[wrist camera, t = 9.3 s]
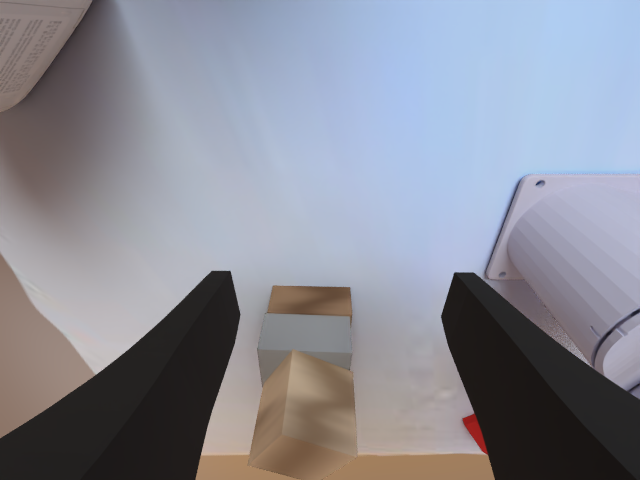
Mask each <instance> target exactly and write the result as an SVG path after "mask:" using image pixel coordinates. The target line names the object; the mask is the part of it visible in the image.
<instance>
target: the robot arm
mask: <svg viewBox="0 0 640 480" xmlns="http://www.w3.org/2000/svg"><path fill="white" fill-rule="evenodd" d="M540 180H541V183H540V184H538V185H536V183H537V182H538V181H540ZM501 272H503V273H501ZM500 273H501V274H500ZM486 274H487V276H488V278H489V279H493V280H526V282H527V283H528V284H529V285H530V287H531V288H532V289H533V291H534V292H535V293H536V295H537V296H538V297H539V298H540V300H541V301H542V302H543V304H544V305H545V306H546V308H547V309H548V310H549V311H550V313H551V314H552V315H553V317H554V318H555V319H556V321H557V322H558V323H559V325H560V326H561V327H562V328H563V330H564V331H565V332H566V334H567V335H568V336H569V338H570V339H571V340H572V341H573V343H574V344H575V345H576V347H577V348H578V349H579V351H580V352H581V353H582V354H583V356H584V357H585V358H586V360H587V361H588V362H589V364H590V365H591V366H592V367H590V366H589V365H587V364H586V363H585V362H583V361H582V360H580V359H579V358H578V357H576V356H575V355H574V354H572V353H571V352H570V351H568V350H567V349H566V348H564V347H563V346H562V345H560V344H559V343H558V342H556V341H555V340H554V339H553V338H551V337H550V336H549V335H547V334H546V333H545V332H544V331H542V330H541V329H540V328H539V327H537V326H536V325H535V324H534V323H533V322H531V321H530V320H529V319H528V318H526V317H525V316H524V315H523V314H522V313H521V312H519V311H518V310H517V309H516V308H515V307H513V306H512V305H511V304H510V303H509V302H508V301H507V300H505V299H504V298H503V297H502V296H501V295H500V294H498V293H497V292H496V291H495V290H494V289H493V288H492V287H490V286H489V285H488V284H487V283H486V282H485V281H483V280H482V279H481V278H480V277H479V276H477V275H476V274H475V273H457V272H454V276H453V279H452V282H451V286H450V289H449V292H448V295H447V299H446V302H445V305H444V309H443V312H442V315H441V318H442V323H443V327H444V331H445V335H446V339H447V343H448V346H449V349H450V352H451V354H452V357H453V359H454V362H455V365H456V367H457V370H458V372H459V375H460V377H461V380H462V382H463V385H464V387H465V390H466V392H467V395H468V398H469V400H470V403H471V405H472V408H473V410H474V413H475V415H476V418H477V421H478V424H479V427H480V429H481V432H482V436H483V439H484V443H485V446H486V449H487V453H488V456H489V460H490V463H491V467H492V470H493V474H494V477H495V480H640V174H528V175H526V176H524V177H523V178H522V179H521V181H520V183H519V186H518V189H517V191H516V194H515V197H514V199H513V202H512V205H511V207H510V210H509V213H508V215H507V218H506V220H505V223H504V226H503V228H502V231H501V234H500V236H499V239H498V242H497V244H496V247H495V250H494V252H493V255H492V258H491V260H490V263H489V266H488V268H487V271H486ZM239 319H240V311H239V306H238V302H237V297H236V293H235V289H234V284H233V280H232V275H231V271H211V272H210V273H209V274H208V275H207V276H206V277H205V278H204V279H203V280H202V281H201V282H200V283H199V284H198V285H197V286H196V287H195V288H194V289H193V290H192V291H191V292H190V293H189V294H188V295H187V296H186V297H185V298H184V299H183V300H182V301H181V302H180V303H179V304H178V305H177V306H176V307H175V308H174V309H173V310H172V311H171V312H170V313H169V314H168V315H167V316H166V317H165V318H164V319H163V320H162V321H160V322H159V323H158V324H157V325H156V326H155V327H154V328H153V329H152V330H150V331H149V332H148V333H147V334H146V335H145V336H144V337H143V338H141V339H140V340H139V341H138V342H137V343H136V344H135V345H133V346H132V347H131V348H130V349H129V350H127V351H126V352H125V353H124V354H122V355H121V356H120V357H119V358H118V359H116V360H115V361H114V362H112V363H111V364H110V365H108V366H107V367H106V368H105V369H103V370H102V371H101V372H99V373H98V374H97V375H95V376H94V377H93V378H91V379H90V380H88V381H87V382H86V383H84V384H83V385H81V386H80V387H78V388H77V389H75V390H74V391H73V392H71V393H70V394H68V395H67V396H65V397H64V398H62V399H61V400H60V401H58V402H57V403H55V404H54V405H52V406H51V407H49V408H48V409H46V410H45V411H43V412H42V413H40V414H39V415H37V416H35V417H34V418H32V419H31V420H29V421H28V422H26V423H24V424H23V425H21V426H20V427H18V428H16V429H15V430H13V431H12V432H10V433H9V434H7V435H5V436H3V437H2V438H0V480H195V478H196V474H197V469H198V465H199V460H200V456H201V452H202V448H203V444H204V439H205V435H206V431H207V427H208V423H209V420H210V416H211V413H212V410H213V407H214V404H215V401H216V398H217V395H218V392H219V389H220V386H221V383H222V380H223V377H224V374H225V371H226V368H227V365H228V362H229V359H230V356H231V353H232V350H233V347H234V344H235V339H236V335H237V330H238V325H239Z"/></svg>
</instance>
